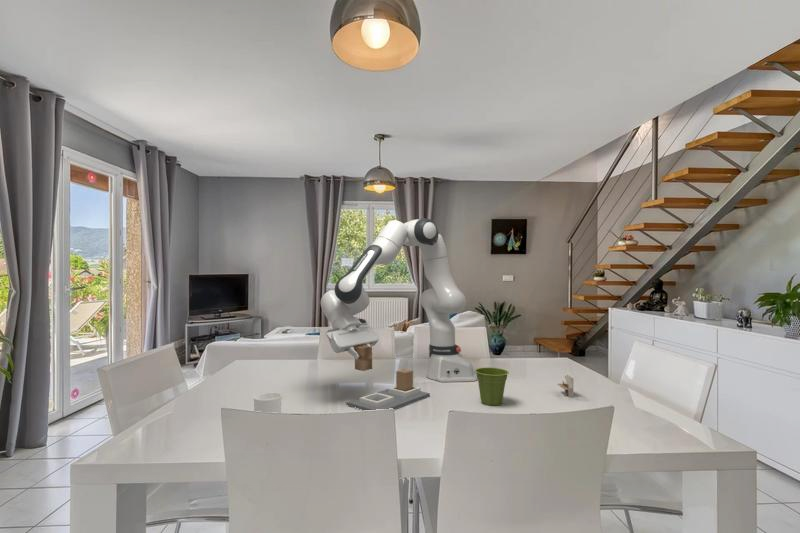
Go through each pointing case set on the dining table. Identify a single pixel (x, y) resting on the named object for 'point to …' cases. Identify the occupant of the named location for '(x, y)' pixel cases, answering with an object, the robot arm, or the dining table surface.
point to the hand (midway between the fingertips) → (364, 356)
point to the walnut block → (364, 358)
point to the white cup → (268, 402)
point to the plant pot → (491, 384)
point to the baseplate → (392, 394)
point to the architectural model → (568, 386)
